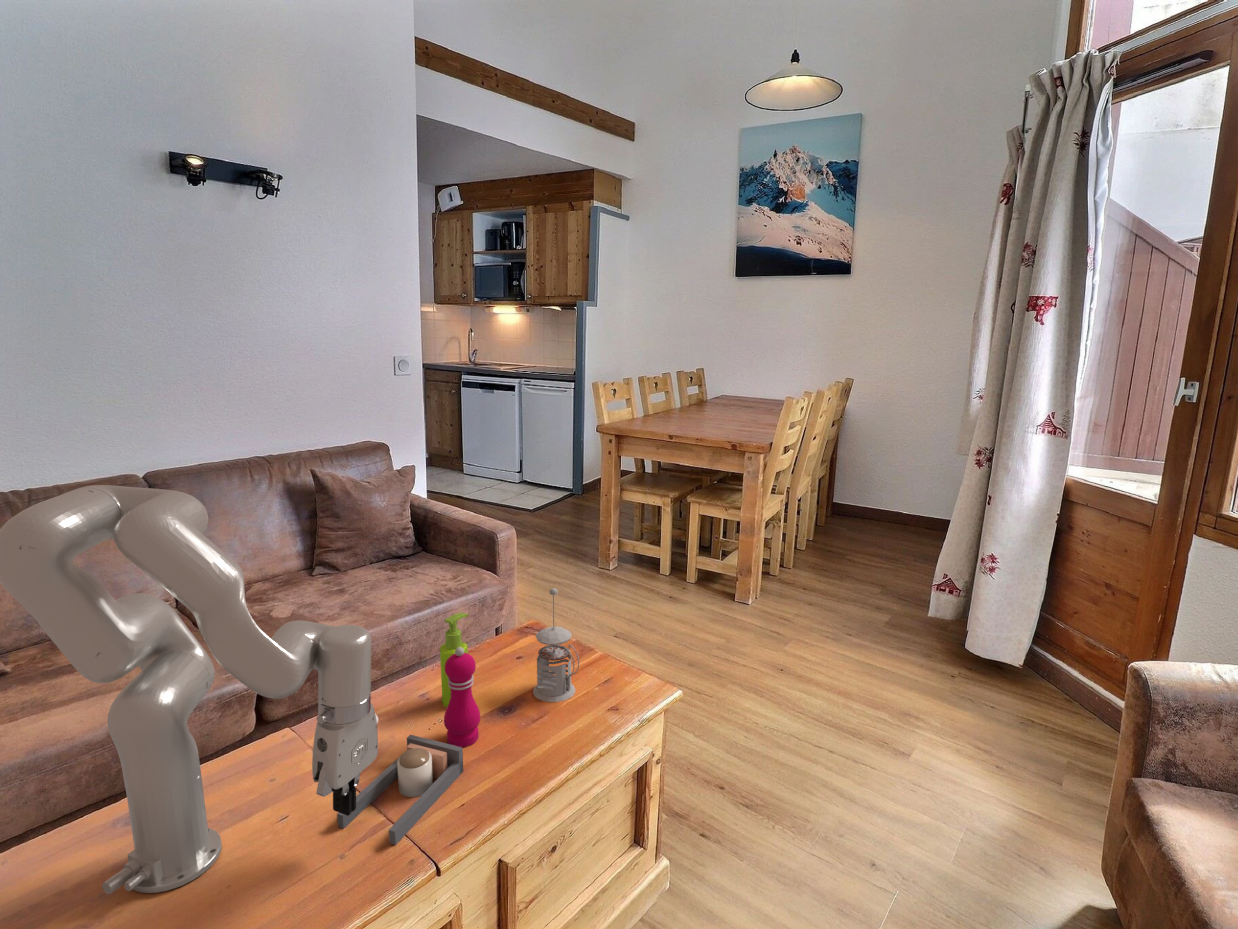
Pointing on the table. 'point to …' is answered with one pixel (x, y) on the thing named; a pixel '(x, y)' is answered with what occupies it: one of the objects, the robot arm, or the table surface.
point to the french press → (549, 684)
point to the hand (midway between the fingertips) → (344, 810)
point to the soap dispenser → (450, 652)
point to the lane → (423, 802)
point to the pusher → (434, 759)
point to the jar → (414, 772)
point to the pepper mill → (461, 700)
